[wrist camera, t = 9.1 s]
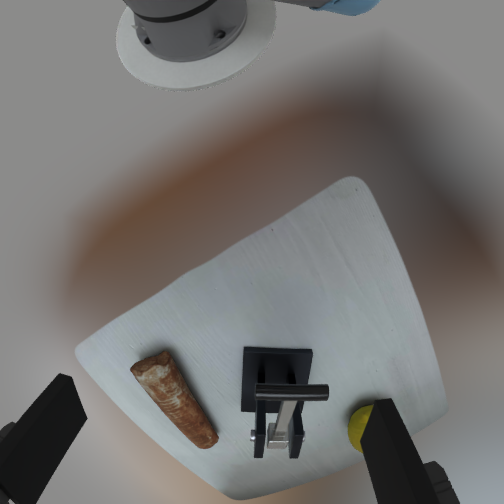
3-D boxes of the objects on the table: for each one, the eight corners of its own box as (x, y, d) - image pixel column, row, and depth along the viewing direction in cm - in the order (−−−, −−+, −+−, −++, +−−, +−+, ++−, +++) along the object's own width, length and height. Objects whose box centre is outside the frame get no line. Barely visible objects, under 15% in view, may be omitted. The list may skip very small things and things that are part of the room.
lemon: (336, 404, 41) (347, 441, 33) (383, 384, 40) (401, 418, 32) (351, 441, 43) (361, 474, 35) (392, 423, 42) (407, 455, 34)
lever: (256, 375, 23) (254, 400, 21) (327, 376, 23) (330, 400, 21) (250, 430, 31) (249, 448, 29) (301, 431, 31) (302, 448, 29)
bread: (172, 342, 39) (160, 364, 33) (225, 433, 43) (222, 458, 37) (135, 351, 39) (120, 372, 34) (191, 438, 43) (185, 462, 38)
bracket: (244, 346, 38) (237, 412, 26) (311, 349, 38) (329, 413, 26) (241, 406, 41) (235, 471, 29) (300, 408, 41) (310, 472, 28)
